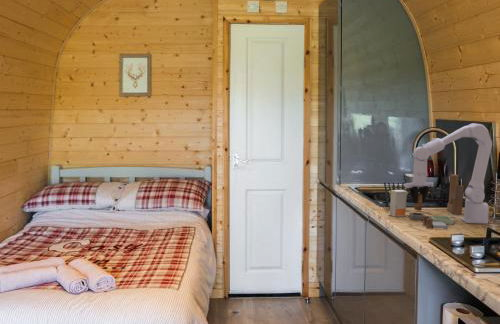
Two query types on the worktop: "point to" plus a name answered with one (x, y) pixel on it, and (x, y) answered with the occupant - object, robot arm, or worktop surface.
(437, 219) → the tray
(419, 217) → the socket
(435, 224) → the grey square tile
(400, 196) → the skincare box
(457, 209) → the wooden block
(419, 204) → the dowel
